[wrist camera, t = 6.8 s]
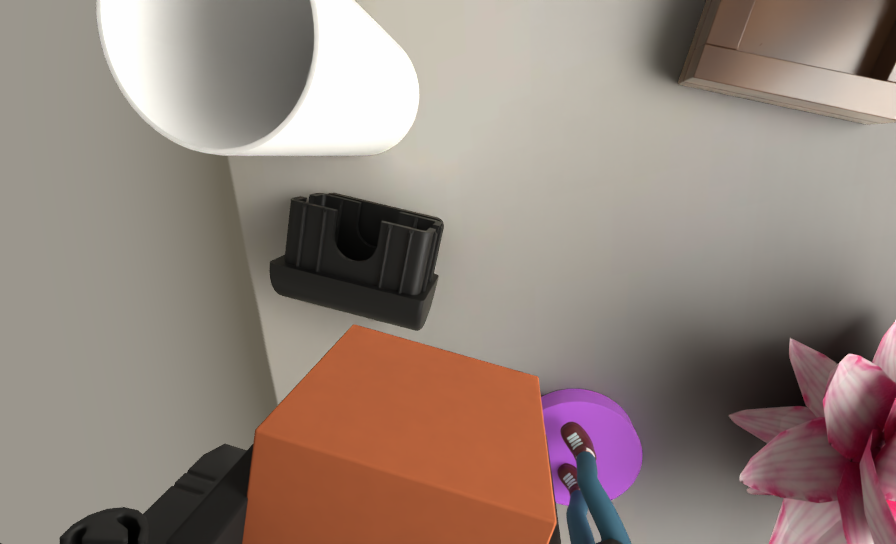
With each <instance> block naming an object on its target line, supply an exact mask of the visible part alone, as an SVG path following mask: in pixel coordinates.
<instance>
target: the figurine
mask: <svg viewBox="0 0 896 544" xmlns="http://www.w3.org/2000/svg"><path fill="white" fill-rule="evenodd" d="M541 403H542V410H543V418H544V426H545V434H547V441H548V449H549V456H550V464H551V471H552V479H553V487H554V494H555V502H556V503H559V504H562V505H568V509H567V524H568V529H569V535H570V540H571V544H595V542H594V538H593V535H592V532H591V529H590V526H589V523H588V520H587V517H586V515H587V511H588V509H589V511H590V513H591V515H592V517H593V519H594V521H595V524H596V526H597V528H598V530H599V532H600V535H601V539H602V540H601V542H598V543H596V544H631V541H630V539H629V536H628V534H627V532H626V530H625V528H624V526H623V523H622V521H621V519H620V517H619V515H618V513H617V511H616V509H615V507H614V506H613V504H612V502H611V500H613V499H615V498H617V497H618V496H620V495H621V494H622V493H624V492H625V491H626V490H627V489H628V488H629V487H630V486H631V485H632V484H633V483H634V481H635V479H636V478H637V476H638V474H639V472H640V468H641V465H642V447H641V442H640V440H639V438H638V435H637V433H636V431H635V429H634V427H633V425H632V422H631V420H630V418H629V416H628V415H627V414H626V412H625V411H624V410H623V409H622V408H621V407H620V406H619V405H618V404H617V403H616V402H614V401H613V400H611V399H610V398H608V397H606V396H604V395H602V394H600V393H597V392H594V391H590V390H584V389H564V390H558V391H554V392H552V393H549V394H546V395H544V396H542V397H541Z"/></svg>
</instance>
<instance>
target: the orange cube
mask: <svg viewBox="0 0 896 544" xmlns="http://www.w3.org/2000/svg"><path fill="white" fill-rule="evenodd" d="M247 498H248V503H247V511H246V519H245V526H244V534H243V542H242V544H548V543H549V541H550V538H551V536H552V533H553V531H554V528H555V526H556V523H557V521H556V513H555V505H554V497H553V489H552V481H551V473H550V466H549V458H548V450H547V442H546V434H545V426H544V418H543V410H542V403H541V395H540V387H539V379H538V377H537V376H534V375H530V374H527V373H523V372H520V371H516V370H513V369H509V368H506V367H502V366H499V365H495V364H492V363H488V362H485V361H481V360H478V359H474V358H471V357H467V356H464V355H460V354H457V353H453V352H450V351H446V350H442V349H439V348H435V347H432V346H428V345H425V344H421V343H418V342H414V341H411V340H407V339H404V338H400V337H397V336H393V335H390V334H386V333H383V332H379V331H376V330H372V329H369V328H365V327H362V326H358V325H352V326H351V327H350V328H349V330H348V331H347V332H346V333H345V334H344V335H343V336H342V337H341V338H340V339H339V340H338V341H337V342H336V344H335V345H334V346H333V347H332V348H331V349H330V350H329V351H328V352H327V353H326V354H325V355H324V356H323V358H322V359H321V360H320V361H319V362H318V363H317V364H316V365H315V366H314V367H313V368H312V369H311V370H310V372H309V373H308V374H307V375H306V376H305V377H304V378H303V379H302V380H301V381H300V382H299V383H298V384H297V386H296V387H295V388H294V389H293V390H292V391H291V392H290V393H289V394H288V395H287V396H286V397H285V398H284V400H283V401H282V402H281V403H280V404H279V405H278V406H277V407H276V408H275V409H274V410H273V411H272V413H271V414H270V415H269V416H268V417H267V418H266V419H265V420H264V421H263V422H262V423H261V425H259V426H258V428H257V429H256V430H255V436H254V444H253V452H252V460H251V468H250V476H249V484H248V492H247Z"/></svg>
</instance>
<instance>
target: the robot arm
mask: <svg viewBox="0 0 896 544" xmlns="http://www.w3.org/2000/svg"><path fill="white" fill-rule="evenodd" d="M546 442H547V450H548V458H549V466H550V473H551V481H552V489H553V497H554V505H555V513H556V521H557V523H556V526H555V528H554V531H553V533H552V536H551V538H550V541H549V543H548V544H561V539H560V532H559V524H558V517H557V509H556V502H555V494H554V487H553V479H552V471H551V464H550V456H549V449H548V441H547V434H546ZM252 452H253V445H252V446H251V447H250V448H249V449H248V450H243V449H240V448H237V447H234V446H230V445H227V444H223V445H222V446H220V447H218V448H216V449H214V450H212V451H210V452H208V453H206V454H204V455H203V456H202V457H201V458H200V459H199V460H198V461H197V462H196V463H195V464H194V465H193V466H192V467H191V468H190V469H189V470H188V472H187V473H185V474H184V475H183V476H182V477H181V478H180V479H178V481H176V482H175V485H174V486H171V487H170V488H169V489H168V490H167V491H166V492H165V493H164V494H163V495H162V496H161V497H160V498H159V499H158V500H157V501H156V502H155V503H154V504H153V505H152V506H151V507H150V508H149V509H148V510H147V511H146V512H145V513H144V514H142V513H140V512H139V511H138V510H134V509H129V508H125V507H123V508H112V509H106V510H103V511H100V512H97V513H94V514H91V515H89V516H87V517H85V518H84V519H82V520H80V521H78V522H77V523H75V524H73V525H72V526H71V527H70V528H69V529H68V530H67V531H66V532H65V533H64V534H63V535H62V536H61V537H60V544H242V542H243V534H244V526H245V519H246V511H247V503H248V498H247V492H248V484H249V476H250V468H251V460H252ZM0 544H1V543H0Z"/></svg>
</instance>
